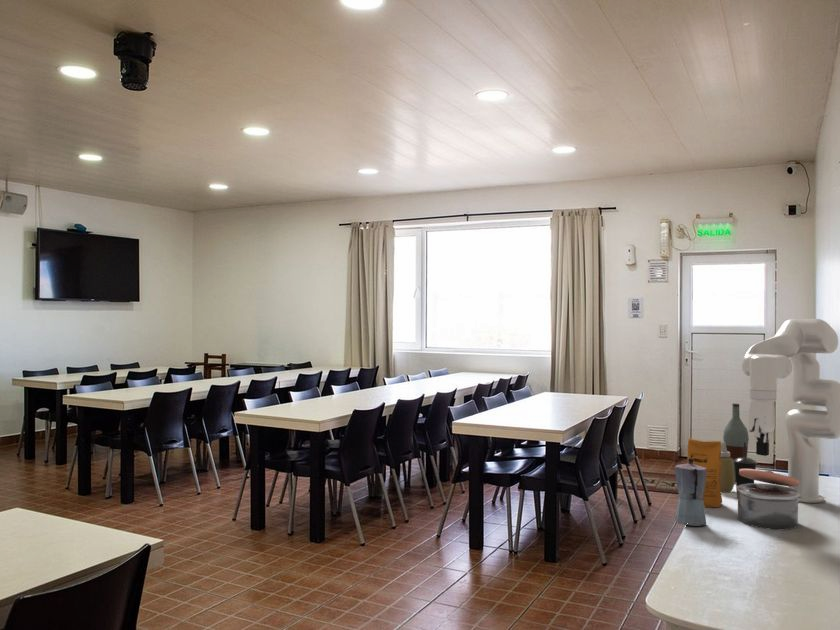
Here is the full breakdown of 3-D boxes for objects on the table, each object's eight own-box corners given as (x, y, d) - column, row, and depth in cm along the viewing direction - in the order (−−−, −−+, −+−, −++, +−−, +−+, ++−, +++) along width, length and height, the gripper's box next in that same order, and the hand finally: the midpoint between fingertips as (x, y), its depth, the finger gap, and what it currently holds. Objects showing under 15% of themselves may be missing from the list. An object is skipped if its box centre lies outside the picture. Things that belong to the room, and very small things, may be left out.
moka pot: (700, 517, 229) (700, 454, 229) (715, 531, 213) (715, 464, 213) (669, 516, 230) (669, 454, 230) (682, 530, 214) (682, 464, 214)
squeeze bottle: (738, 493, 259) (739, 444, 259) (716, 493, 259) (716, 443, 259) (729, 488, 267) (729, 440, 267) (707, 488, 267) (708, 440, 267)
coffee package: (686, 498, 253) (686, 435, 253) (724, 502, 246) (724, 439, 246) (680, 504, 244) (681, 440, 244) (719, 509, 238) (719, 443, 238)
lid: (750, 480, 236) (751, 472, 237) (805, 489, 224) (806, 481, 225) (730, 469, 225) (731, 461, 226) (788, 478, 213) (789, 469, 214)
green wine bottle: (754, 482, 277) (754, 404, 277) (734, 483, 275) (734, 405, 275) (737, 476, 286) (737, 402, 286) (717, 478, 284) (717, 402, 284)
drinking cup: (755, 503, 246) (755, 445, 246) (731, 500, 250) (731, 443, 250) (758, 498, 252) (758, 442, 252) (734, 495, 256) (734, 440, 256)
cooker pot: (749, 510, 237) (749, 480, 237) (807, 521, 224) (807, 489, 224) (727, 521, 224) (727, 489, 224) (787, 533, 212) (787, 499, 212)
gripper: (759, 393, 229) (759, 450, 229) (741, 396, 219) (740, 456, 219) (784, 395, 224) (784, 453, 224) (766, 398, 213) (766, 459, 213)
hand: (762, 454), depth 221 cm, fingers closed
